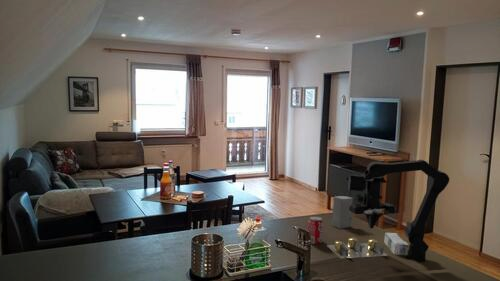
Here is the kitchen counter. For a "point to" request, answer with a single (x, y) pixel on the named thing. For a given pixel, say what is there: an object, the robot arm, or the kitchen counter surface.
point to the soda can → (315, 229)
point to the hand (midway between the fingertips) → (371, 228)
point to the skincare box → (342, 212)
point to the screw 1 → (341, 248)
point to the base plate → (354, 253)
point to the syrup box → (396, 244)
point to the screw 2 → (375, 246)
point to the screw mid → (354, 244)
